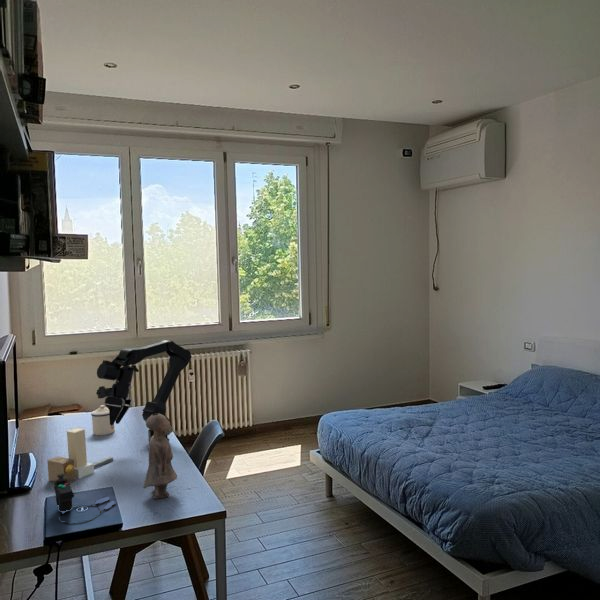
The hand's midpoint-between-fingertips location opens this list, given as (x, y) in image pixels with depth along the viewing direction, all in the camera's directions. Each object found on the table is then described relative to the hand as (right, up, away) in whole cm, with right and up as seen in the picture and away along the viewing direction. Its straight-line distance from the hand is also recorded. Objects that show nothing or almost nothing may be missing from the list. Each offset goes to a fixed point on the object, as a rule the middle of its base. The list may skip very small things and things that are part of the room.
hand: (114, 424), depth 205 cm
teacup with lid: (-15, -10, +31) cm, 36 cm away
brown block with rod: (-5, -13, -14) cm, 20 cm away
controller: (+2, -15, -46) cm, 49 cm away
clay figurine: (+27, -13, -37) cm, 48 cm away
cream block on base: (-6, -13, -17) cm, 22 cm away
